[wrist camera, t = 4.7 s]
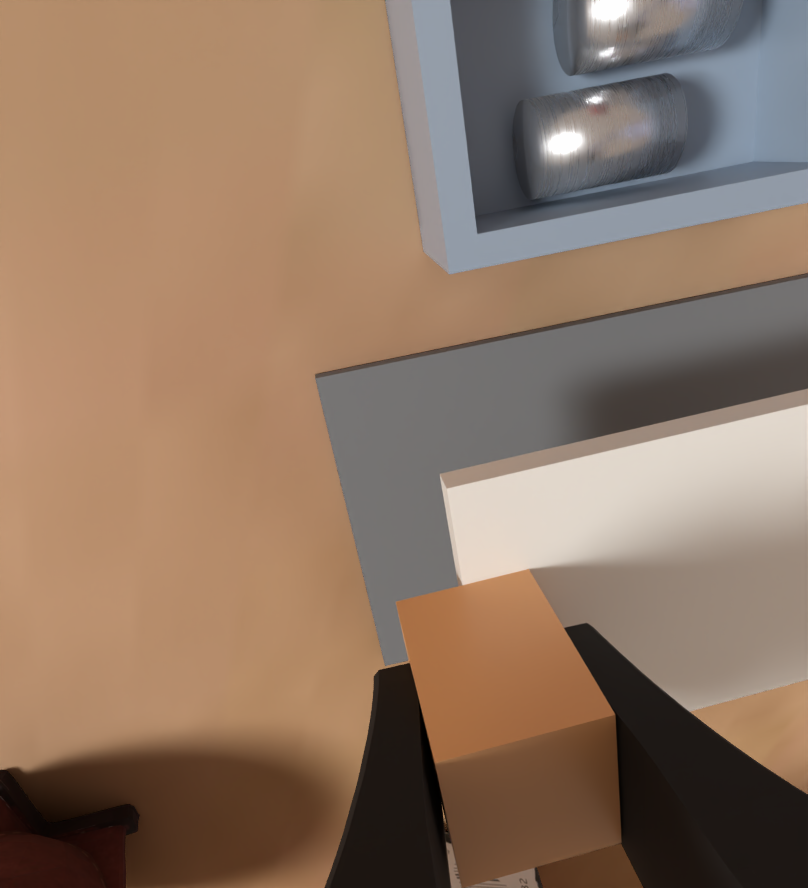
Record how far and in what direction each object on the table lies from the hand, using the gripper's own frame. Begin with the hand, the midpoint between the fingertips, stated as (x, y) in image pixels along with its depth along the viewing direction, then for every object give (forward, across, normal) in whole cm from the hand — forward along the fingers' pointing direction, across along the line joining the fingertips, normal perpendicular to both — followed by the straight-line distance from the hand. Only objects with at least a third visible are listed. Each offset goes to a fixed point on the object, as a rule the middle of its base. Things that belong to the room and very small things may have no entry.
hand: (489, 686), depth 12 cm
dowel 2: (+6, -4, -9) cm, 11 cm away
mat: (+6, -4, 0) cm, 8 cm away
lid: (+2, -4, 0) cm, 5 cm away
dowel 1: (+6, -5, -11) cm, 13 cm away
